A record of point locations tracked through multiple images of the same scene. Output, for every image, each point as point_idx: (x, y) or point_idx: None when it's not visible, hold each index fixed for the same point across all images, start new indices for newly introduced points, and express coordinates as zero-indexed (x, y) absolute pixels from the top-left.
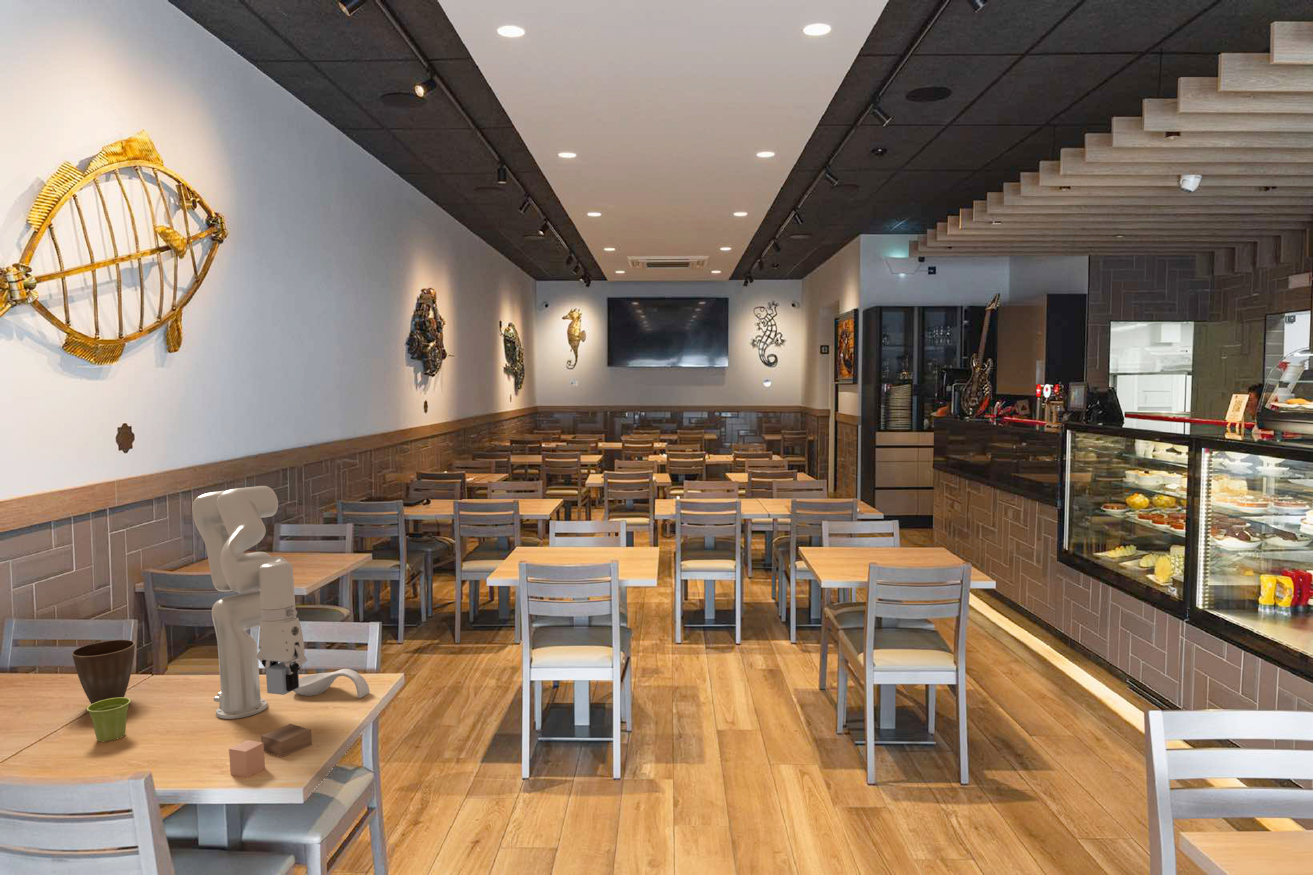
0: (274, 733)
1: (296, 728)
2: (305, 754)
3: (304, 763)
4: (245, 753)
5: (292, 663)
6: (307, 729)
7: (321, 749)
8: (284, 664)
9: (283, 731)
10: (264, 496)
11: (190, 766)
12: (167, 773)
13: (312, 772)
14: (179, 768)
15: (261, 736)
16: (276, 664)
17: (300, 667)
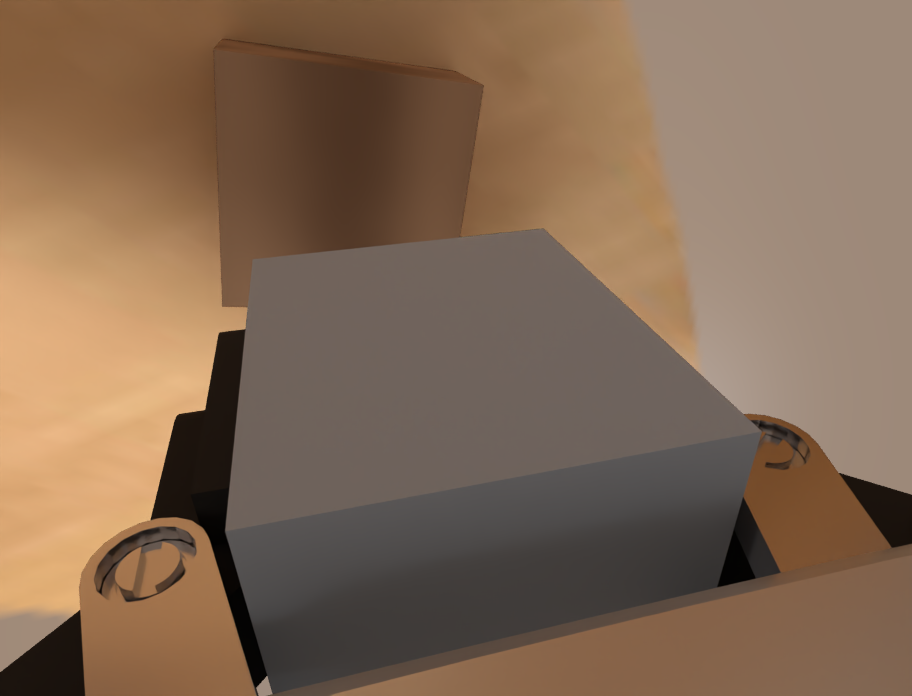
0: (283, 245)
1: (357, 110)
2: (525, 199)
3: (595, 276)
4: None
5: (628, 478)
6: (456, 93)
7: (568, 110)
8: (495, 591)
9: (312, 193)
10: None
11: (76, 530)
12: (62, 601)
13: (688, 321)
14: (50, 561)
15: (230, 303)
16: (298, 667)
17: (900, 500)
